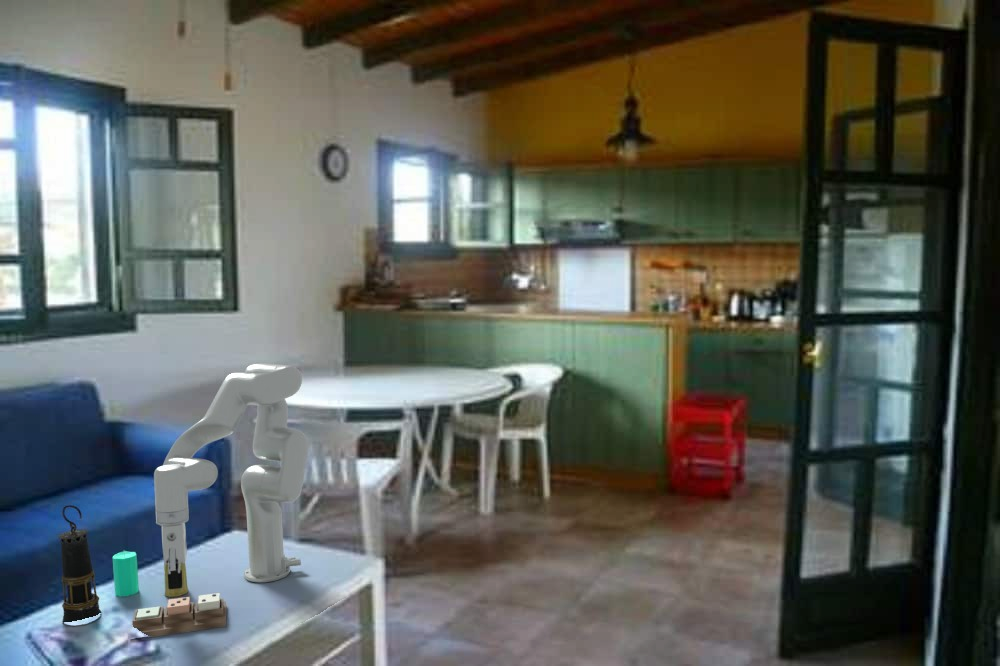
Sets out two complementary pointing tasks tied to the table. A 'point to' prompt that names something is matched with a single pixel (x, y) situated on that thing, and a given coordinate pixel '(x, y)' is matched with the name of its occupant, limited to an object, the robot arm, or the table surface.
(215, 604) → the tile two dots
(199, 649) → the table surface
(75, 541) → the lantern
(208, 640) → the table surface
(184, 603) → the tile three dots
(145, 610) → the tile one dot
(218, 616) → the tile board
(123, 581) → the candle
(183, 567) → the vase
